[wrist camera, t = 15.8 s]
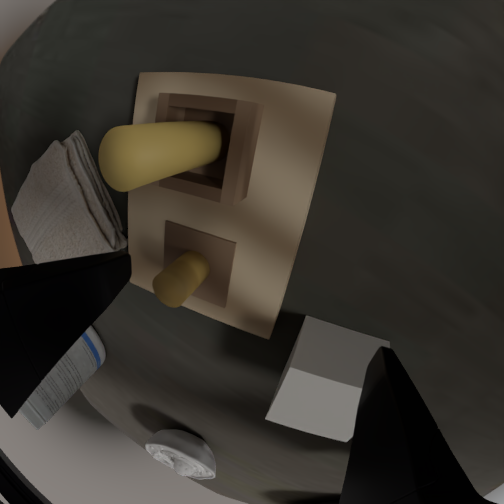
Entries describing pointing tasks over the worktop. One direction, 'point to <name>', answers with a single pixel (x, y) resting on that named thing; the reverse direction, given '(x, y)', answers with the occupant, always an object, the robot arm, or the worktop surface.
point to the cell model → (182, 453)
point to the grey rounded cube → (324, 380)
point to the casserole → (330, 502)
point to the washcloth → (67, 205)
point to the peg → (159, 151)
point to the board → (228, 196)
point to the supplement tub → (64, 378)
